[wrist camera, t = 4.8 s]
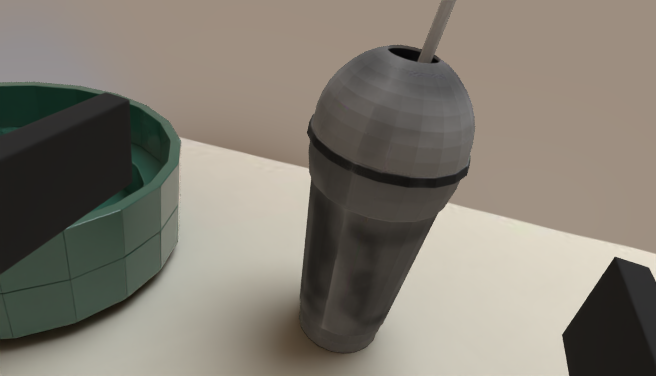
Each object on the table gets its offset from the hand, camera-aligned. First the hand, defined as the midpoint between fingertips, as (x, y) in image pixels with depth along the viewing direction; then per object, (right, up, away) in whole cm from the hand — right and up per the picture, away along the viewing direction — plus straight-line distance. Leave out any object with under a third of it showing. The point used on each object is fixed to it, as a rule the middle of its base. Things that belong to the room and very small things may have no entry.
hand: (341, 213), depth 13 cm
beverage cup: (0, -7, +14) cm, 16 cm away
